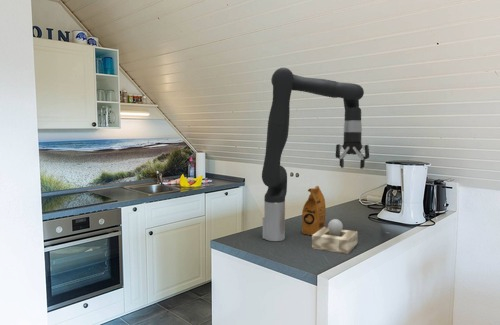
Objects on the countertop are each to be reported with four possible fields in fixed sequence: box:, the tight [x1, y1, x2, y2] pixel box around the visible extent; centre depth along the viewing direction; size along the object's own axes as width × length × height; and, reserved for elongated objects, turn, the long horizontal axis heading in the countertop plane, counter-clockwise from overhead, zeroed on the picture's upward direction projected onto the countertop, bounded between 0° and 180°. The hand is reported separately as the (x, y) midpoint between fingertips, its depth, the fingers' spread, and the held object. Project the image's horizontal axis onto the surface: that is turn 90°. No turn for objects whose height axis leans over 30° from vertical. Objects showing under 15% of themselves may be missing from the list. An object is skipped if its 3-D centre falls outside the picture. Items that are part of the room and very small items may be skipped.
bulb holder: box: [311, 226, 359, 255], centre depth 155 cm, size 15×15×6 cm
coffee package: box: [301, 185, 327, 236], centre depth 175 cm, size 10×12×22 cm
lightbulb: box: [327, 218, 344, 236], centre depth 155 cm, size 6×6×11 cm
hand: (351, 168), depth 162 cm, fingers open, 8 cm apart
